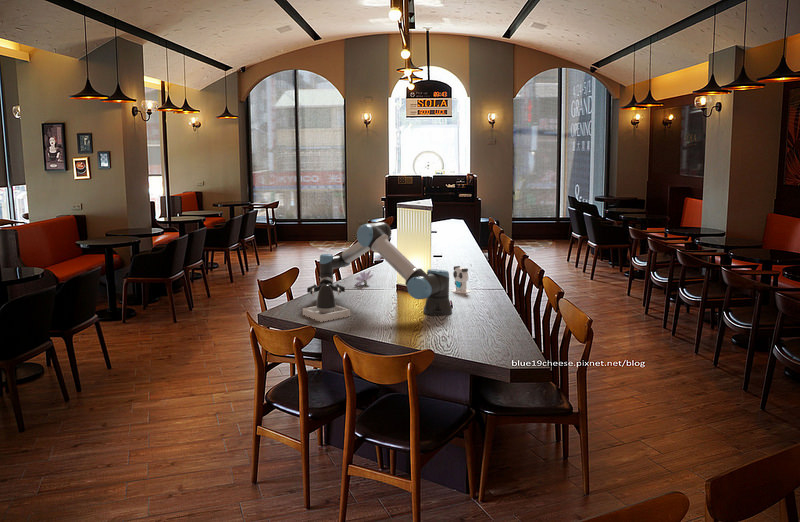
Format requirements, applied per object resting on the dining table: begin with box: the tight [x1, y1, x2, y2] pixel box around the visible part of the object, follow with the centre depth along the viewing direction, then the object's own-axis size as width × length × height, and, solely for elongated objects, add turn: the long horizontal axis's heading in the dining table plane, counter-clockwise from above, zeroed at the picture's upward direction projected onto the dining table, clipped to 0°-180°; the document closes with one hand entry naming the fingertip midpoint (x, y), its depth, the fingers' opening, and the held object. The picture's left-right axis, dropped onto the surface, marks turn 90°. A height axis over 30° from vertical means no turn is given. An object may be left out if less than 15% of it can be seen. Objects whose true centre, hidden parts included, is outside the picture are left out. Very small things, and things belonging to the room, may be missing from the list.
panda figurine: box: [451, 265, 471, 294], centre depth 386 cm, size 12×11×15 cm
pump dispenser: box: [315, 284, 337, 314], centre depth 329 cm, size 10×10×15 cm
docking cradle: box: [302, 304, 351, 323], centre depth 330 cm, size 18×18×4 cm
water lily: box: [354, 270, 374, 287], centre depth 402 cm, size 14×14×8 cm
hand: (325, 293), depth 335 cm, fingers open, 13 cm apart
